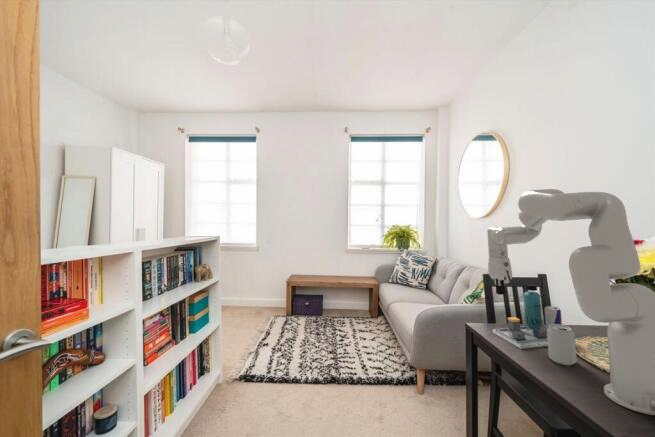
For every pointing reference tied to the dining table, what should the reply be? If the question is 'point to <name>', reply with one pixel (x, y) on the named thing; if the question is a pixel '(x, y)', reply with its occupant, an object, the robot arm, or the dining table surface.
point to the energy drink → (552, 316)
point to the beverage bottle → (532, 308)
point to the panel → (523, 337)
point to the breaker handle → (514, 324)
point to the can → (561, 344)
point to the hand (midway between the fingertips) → (500, 293)
